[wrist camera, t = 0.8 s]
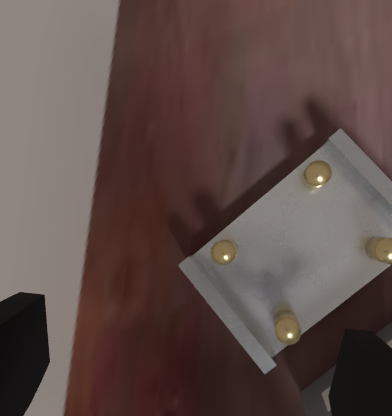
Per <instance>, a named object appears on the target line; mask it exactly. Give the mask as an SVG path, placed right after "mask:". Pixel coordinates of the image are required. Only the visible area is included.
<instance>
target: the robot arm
mask: <svg viewBox="0 0 392 416" xmlns="http://www.w3.org/2000/svg"><path fill="white" fill-rule="evenodd" d="M48 346H49V345H48V333H47V320H46V308H45V297H44V295H41V294H32V293H24V292H20V293H17V294H15V295H13V296H11V297H9V298H7V299H5V300H3V301H1V302H0V416H23V415H24V413H25V411H26V410H27V408H28V407H29V405H30V403H31V402H32V399H33V397H34V395H35V393H36V391H37V389H38V387H39V385H40V383H41V381H42V378H43V376H44V374H45V372H46V369H47V367H48V365H49V363H50V358H49V347H48ZM328 398H329V403H330V408H331V414H332V416H392V348H391V347H390V346H389V345H388V344H387V343H385V342H384V341H383V340H382V339H381V338H380V337H378V336H377V335H376V334H375V333H373V332H370V331H362V330H353V329H345V333H344V337H343V341H342V345H341V348H340V352H339V356H338V360H337V364H336V368H335V372H334V375H333V379H332V383H331V387H330V391H329V395H328Z"/></svg>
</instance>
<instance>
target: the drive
mask: <svg viewBox="0 0 392 416" xmlns="http://www.w3.org/2000/svg"><path fill="white" fill-rule="evenodd" d="M376 335H377V336H378V337H380V338H381V339H382V340H383V341H384V342H385V343H387V344H388V345H389V346H390V347H391V348H392V322H390V323H389V324H388V325H387V326H385V327H384V328H383V329H381V330H380V331H379V332H377V333H376ZM335 368H336V365H335V366H333V367H332V368H331V369H329V370H328V371H327V372H325V373H324V374H323V375H322V376H320V377H319V378H318V379H316V380H315V381H314V382H312V383H311V384H310V385H309V386H307V387H306V388H305V389H303V390H302V391H301V392H300V393H301V397H302V402H303V406H304V411H305V415H306V416H332V414H331V408H330V403H329V398H328V395H329V391H330V387H331V383H332V379H333V375H334V372H335Z"/></svg>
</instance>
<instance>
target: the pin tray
mask: <svg viewBox="0 0 392 416" xmlns="http://www.w3.org/2000/svg"><path fill="white" fill-rule="evenodd" d="M391 264H392V181H391V180H390V179H389V178H388V177H387V176H386V175H385V174H384V173H383V172H382V171H381V170H380V169H379V168H378V167H377V166H376V165H375V164H374V162H373V161H372V160H371V159H370V158H369V157H368V156H367V155H366V154H365V153H364V152H363V151H362V150H361V149H360V148H359V147H358V146H357V145H356V144H355V143H354V142H353V141H352V139H351V138H350V137H349V136H348V135H347V134H346V133H345V132H344V131H343V130H342V129H341V128H340V129H339V130H338V131H337V132H335V133H334V134H333V135H332V136H331V137H329V138H328V140H327V141H326V142H325V144H324V145H323V146H322V147H321V148H320V149H318V150H317V151H316V152H315V153H314V154H312V155H311V156H310V157H309V158H308V159H307V160H305V161H304V162H303V163H302V164H301V165H299V166H298V167H297V168H296V169H295V170H293V171H292V172H291V173H290V174H289V175H288V176H286V177H285V178H284V179H283V180H282V181H280V182H279V183H278V184H277V185H276V186H275V187H273V188H272V189H271V190H270V191H269V192H267V193H266V194H265V195H264V196H263V197H261V198H260V199H259V200H258V201H257V202H256V203H254V204H253V205H252V206H251V207H250V208H248V209H247V210H246V211H245V212H244V213H242V214H241V215H240V216H239V217H238V218H237V219H235V220H234V221H233V222H232V223H231V224H229V225H228V226H227V227H226V228H225V229H224V230H222V231H221V232H220V233H219V234H218V235H216V236H215V237H214V238H213V239H212V240H210V241H209V242H208V243H207V244H206V245H205V246H203V247H202V248H201V249H200V250H199V251H197V252H196V253H195V254H193V255H191V256H189V257H187V258H186V259H185V260H184V261H183V262H181V263H180V264H179V265H178V266H179V267H180V269H181V270H182V271H183V272H184V274H185V275H186V276H187V277H188V279H189V280H190V281H191V282H192V284H193V285H194V286H195V287H196V289H197V290H198V291H199V293H200V294H201V295H202V296H203V298H204V299H205V300H206V301H207V303H208V304H209V305H210V306H211V308H212V309H213V310H214V311H215V313H216V314H217V315H218V316H219V318H220V319H221V320H222V321H223V323H224V324H225V325H226V326H227V328H228V329H229V330H230V331H231V333H232V334H233V335H234V337H235V338H236V339H237V340H238V342H239V343H240V344H241V345H242V347H243V348H244V349H245V350H246V352H247V353H248V354H249V355H250V357H251V358H252V359H253V360H254V362H255V363H256V364H257V365H258V367H259V368H260V369H261V370H262V372H263V373H264V374H266V373H268V372H269V371H270V370H271V369H273V368H274V367H275V366H277V362H276V354H277V353H279V352H280V351H281V350H282V349H284V348H285V347H286V346H288V345H292V344H295V343H296V342H298V341H299V339H300V337H301V335H302V334H303V333H304V332H306V331H307V330H308V329H309V328H311V327H312V326H313V325H315V324H316V323H317V322H318V321H320V320H321V319H322V318H323V317H325V316H326V315H327V314H329V313H330V312H331V311H332V310H334V309H335V308H336V307H338V306H339V305H340V304H341V303H343V302H344V301H345V300H347V299H348V298H349V297H350V296H352V295H353V294H354V293H356V292H357V291H358V290H359V289H361V288H362V287H363V286H365V285H366V284H367V283H368V282H370V281H371V280H372V279H373V278H375V277H376V276H377V275H379V274H380V273H381V272H382V271H384V270H385V269H386V268H388V267H389V266H390V265H391Z"/></svg>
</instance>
